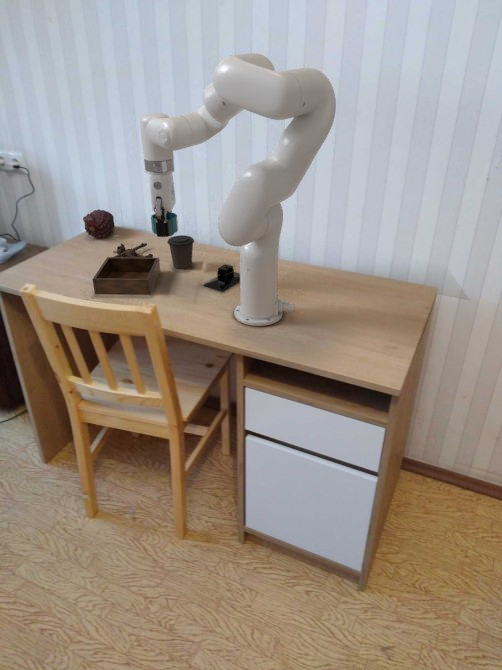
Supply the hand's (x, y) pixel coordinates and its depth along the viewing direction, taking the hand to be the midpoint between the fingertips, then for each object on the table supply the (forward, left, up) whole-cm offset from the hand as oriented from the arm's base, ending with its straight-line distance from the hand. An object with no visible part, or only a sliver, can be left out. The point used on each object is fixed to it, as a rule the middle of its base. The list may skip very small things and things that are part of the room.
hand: (165, 230), depth 146 cm
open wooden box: (+12, 0, -17) cm, 20 cm away
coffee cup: (-2, -12, -17) cm, 21 cm away
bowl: (0, 0, -1) cm, 1 cm away
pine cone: (+31, -40, -17) cm, 53 cm away
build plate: (-16, -3, -17) cm, 23 cm away
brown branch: (+15, -19, -17) cm, 29 cm away
